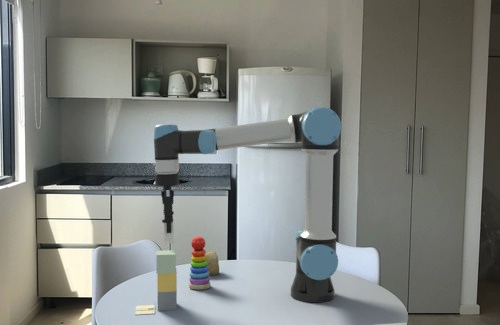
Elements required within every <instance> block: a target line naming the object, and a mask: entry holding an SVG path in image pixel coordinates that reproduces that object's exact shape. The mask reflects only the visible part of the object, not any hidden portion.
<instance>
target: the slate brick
mask: <svg viewBox="0 0 500 325" xmlns="http://www.w3.org/2000/svg"><path fill="white" fill-rule="evenodd" d="M177 297H178V296H177V291H173V292H158V291H157V311H173V310H174V309H177V306H178V305H177V300H178V299H177Z"/></svg>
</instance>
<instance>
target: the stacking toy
mask: <svg viewBox="0 0 500 325" xmlns="http://www.w3.org/2000/svg"><path fill="white" fill-rule="evenodd" d="M190 244H191V246H192V251H191V255H192V256H191V262H190V269H189V270H190V272H189V279H188V280H189V283H188V286H189V288H190V289H191V290H196V291H201V290H207V289H209V288H210V287H211V282H210V281H211V278H210V275H209V272H208V266H207V261H206V259H207V257H206V256H205V253H207V252H206V250H205V249H204V248H206V247H205V246H206V241H205V238H204V237H202V236H195V237H193V238H192V240H191V243H190Z"/></svg>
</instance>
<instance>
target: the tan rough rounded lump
mask: <svg viewBox="0 0 500 325" xmlns="http://www.w3.org/2000/svg"><path fill="white" fill-rule="evenodd" d="M205 256H206V257H207V259H206V261H207V266H208V272H209V276H212V275H213V276H214V275H220V265H219V264H220V263H219V261H220V260H219V257H218V254H217V252H216V250H211V251H209V252H206V253H205Z"/></svg>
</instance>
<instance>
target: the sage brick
mask: <svg viewBox="0 0 500 325" xmlns="http://www.w3.org/2000/svg"><path fill="white" fill-rule="evenodd" d="M176 256H177V254H176V250H172V249H171V250H170V249H169V250H168V249H167V250H156V275H157V274H165V273H176V272H177V267H176V265H177V264H176V263H177V262H176V261H177V258H176Z"/></svg>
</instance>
